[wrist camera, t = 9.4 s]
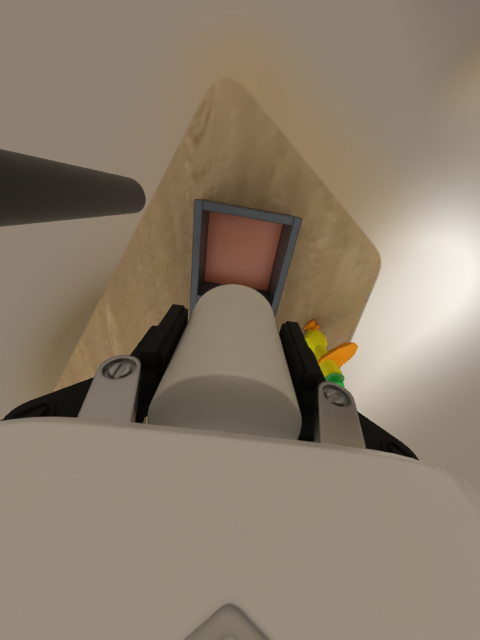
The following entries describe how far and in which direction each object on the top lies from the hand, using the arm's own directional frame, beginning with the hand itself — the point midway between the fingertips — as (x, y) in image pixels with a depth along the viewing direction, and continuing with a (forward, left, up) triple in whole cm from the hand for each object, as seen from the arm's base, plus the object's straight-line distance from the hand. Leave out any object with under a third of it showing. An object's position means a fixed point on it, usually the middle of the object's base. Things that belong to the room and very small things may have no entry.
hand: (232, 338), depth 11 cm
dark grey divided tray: (0, -4, -19) cm, 19 cm away
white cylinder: (0, 0, -2) cm, 2 cm away
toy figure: (+13, -9, -19) cm, 25 cm away
